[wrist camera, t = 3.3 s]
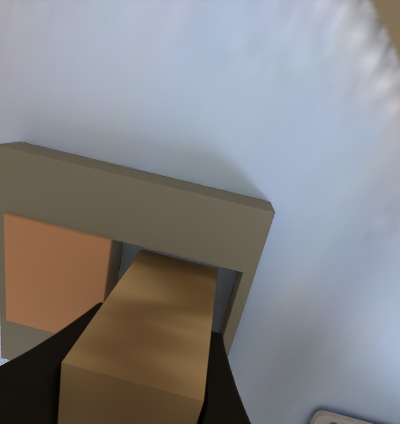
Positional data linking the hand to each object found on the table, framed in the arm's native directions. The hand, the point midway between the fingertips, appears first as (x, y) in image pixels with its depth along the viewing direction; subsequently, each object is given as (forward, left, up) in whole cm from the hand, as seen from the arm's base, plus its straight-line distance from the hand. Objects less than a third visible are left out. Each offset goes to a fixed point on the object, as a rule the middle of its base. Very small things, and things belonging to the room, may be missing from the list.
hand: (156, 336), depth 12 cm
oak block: (0, 0, -3) cm, 3 cm away
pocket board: (+3, 0, -3) cm, 4 cm away
